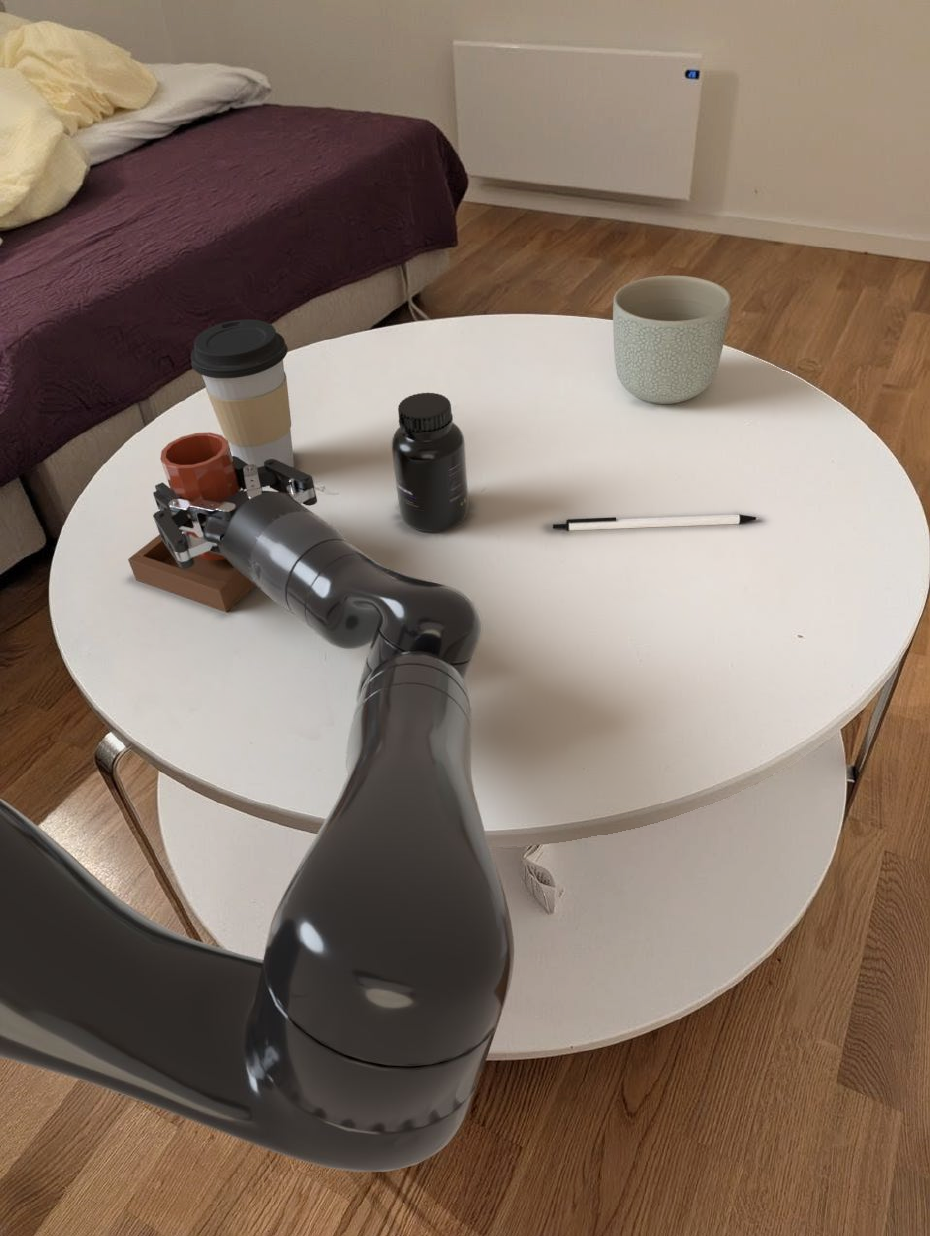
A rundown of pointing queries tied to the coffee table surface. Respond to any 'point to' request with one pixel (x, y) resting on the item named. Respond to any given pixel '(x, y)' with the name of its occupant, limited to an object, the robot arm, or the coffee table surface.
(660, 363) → the planter
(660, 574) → the coffee table surface
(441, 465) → the supplement bottle
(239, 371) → the coffee cup
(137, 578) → the tray
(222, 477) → the tumbler
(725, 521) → the pen
